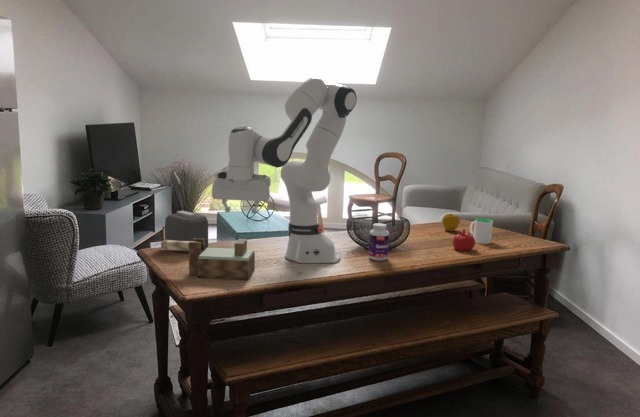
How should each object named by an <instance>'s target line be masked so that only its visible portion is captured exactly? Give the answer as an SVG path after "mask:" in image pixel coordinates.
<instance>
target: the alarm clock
mask: <svg viewBox="0 0 640 417" xmlns="http://www.w3.org/2000/svg"><path fill="white" fill-rule="evenodd" d="M164 222H165V223H164V225H165V226H164V228H165V230H164V232H165V240H174V241H193V239H194V238H201V239H205V249H206V248H209V221H208V217H206V216H205V215H202V214H200V213H199V214H198V213H194V212H191V211H185V210H178V211H176V213H172V214H169V215H167V216H166V217H165V219H164ZM181 252H182V253H186V252H189V251H181Z"/></svg>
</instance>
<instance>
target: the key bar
mask: <svg viewBox="0 0 640 417" xmlns="http://www.w3.org/2000/svg"><path fill="white" fill-rule="evenodd" d="M189 242H195V241H174V240H166V239H163V240H162V241H161V242H160V250H161V251H180V252H182V251H189Z"/></svg>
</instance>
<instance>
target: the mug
mask: <svg viewBox="0 0 640 417" xmlns="http://www.w3.org/2000/svg"><path fill="white" fill-rule="evenodd" d="M493 223H494V221H493V219H492V220H491V219H489V218H488V219H487V218H475V220H474V221H471V222H470V224H469V228H468V229H469V233H471V234H470V235H471V236H473V238H474V239H475V244H476V243H477V244H482V245H488V244H489V243H490V244H491V243H492V236H493V234H492V232H493V225H494V224H493ZM473 225H474V229H473Z"/></svg>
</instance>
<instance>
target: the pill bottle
mask: <svg viewBox="0 0 640 417" xmlns="http://www.w3.org/2000/svg"><path fill="white" fill-rule="evenodd" d="M387 228H388V225H387V224H385V223H380V222H378V223H377V222H376V223H373V224H372V229H371V230H370V231H369V235H368V237H369V238H368V239H369V240H368V254H367V255H368V256H367V257H368V258H369V260H373V261H377V262H378V261H380V262H382V261H386V260H387V259H388V258H389V245H390V244H389V243H390V232H389V230H387Z"/></svg>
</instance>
